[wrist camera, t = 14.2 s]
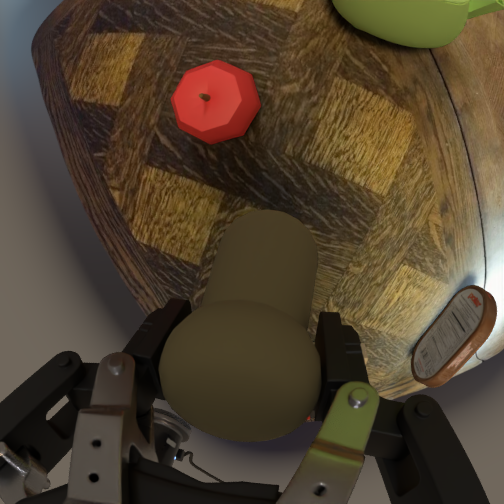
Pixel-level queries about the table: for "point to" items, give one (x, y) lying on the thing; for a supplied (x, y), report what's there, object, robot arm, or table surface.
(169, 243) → the table surface
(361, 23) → the teapot
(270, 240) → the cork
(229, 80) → the apple
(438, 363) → the tin
